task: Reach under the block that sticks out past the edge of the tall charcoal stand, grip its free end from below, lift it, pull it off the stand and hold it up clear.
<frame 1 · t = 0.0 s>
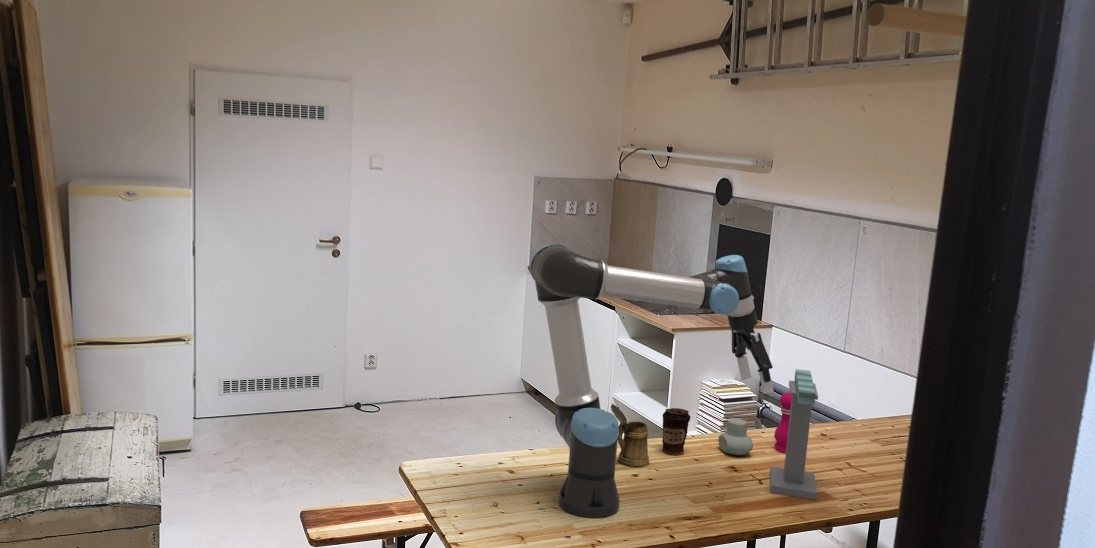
hand: (757, 385, 229), 28 cm above the table, tool tilted 20°, fingers open, 13 cm apart
pepper mill: (784, 450, 263), on the table
stand: (792, 485, 232), on the table
wooden mug: (626, 463, 242), on the table
air freshener: (734, 453, 257), on the table
block: (803, 391, 225), point 28 cm above the table, touching stand
coffee cup: (673, 452, 253), on the table
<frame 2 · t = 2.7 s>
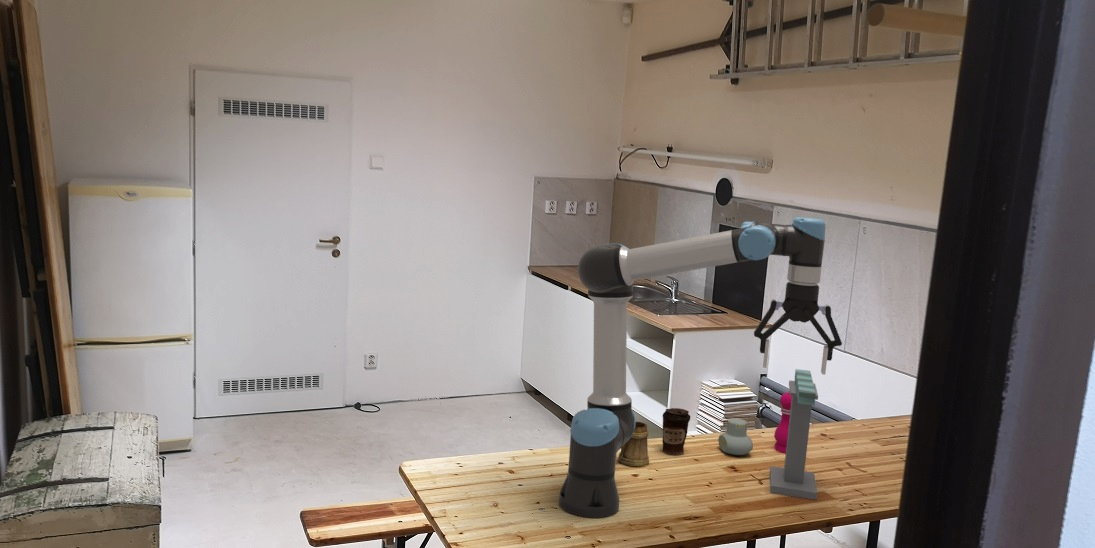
hand: (793, 370, 202), 39 cm above the table, tool pointing down, fingers open, 13 cm apart
nothing on the table moved.
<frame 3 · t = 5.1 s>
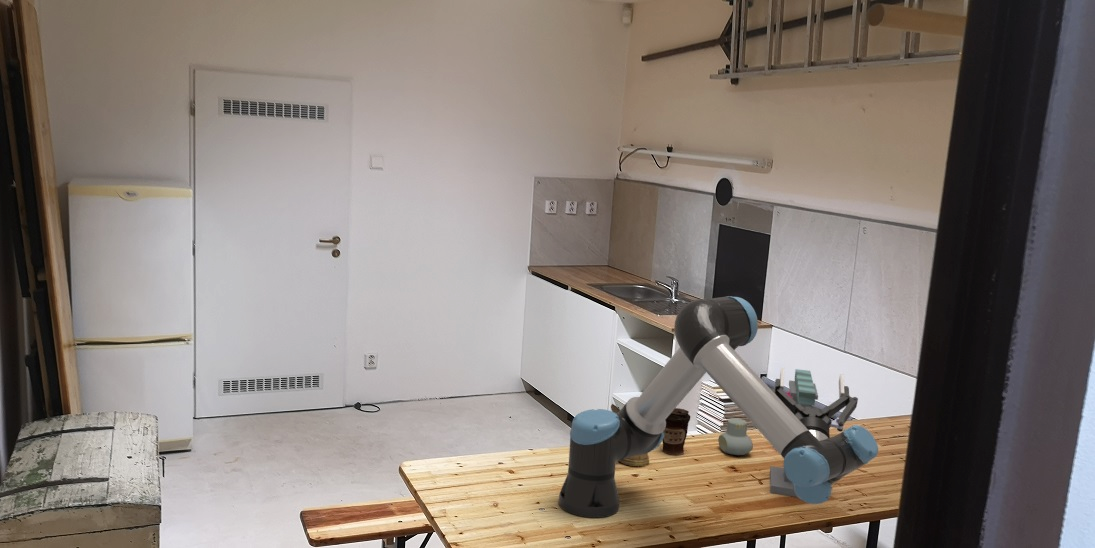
hand: (811, 374, 202), 38 cm above the table, tool pointing upward, fingers open, 13 cm apart
nothing on the table moved.
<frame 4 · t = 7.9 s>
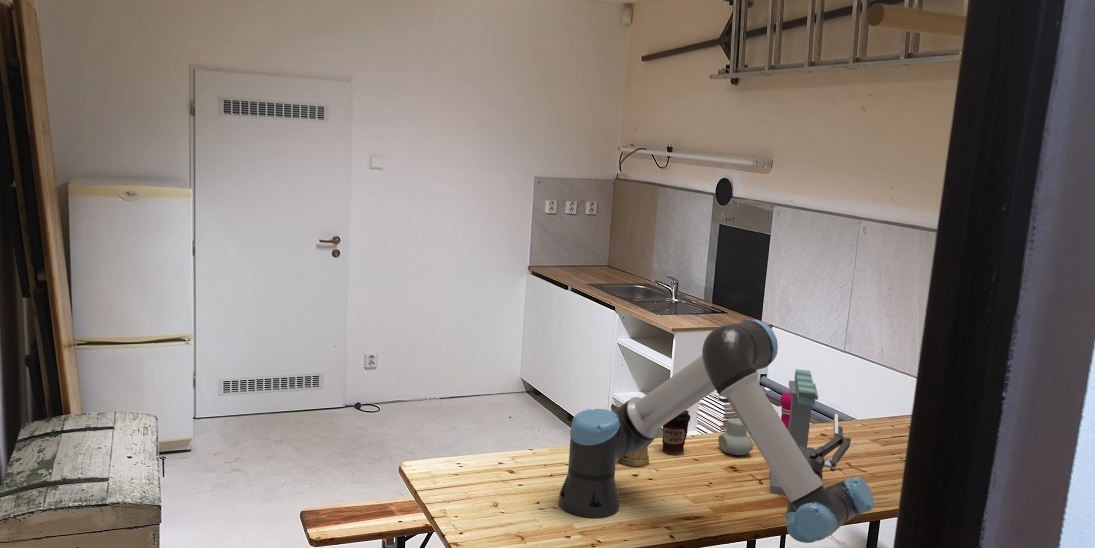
hand: (807, 413, 211), 26 cm above the table, tool pointing upward, fingers open, 13 cm apart
nothing on the table moved.
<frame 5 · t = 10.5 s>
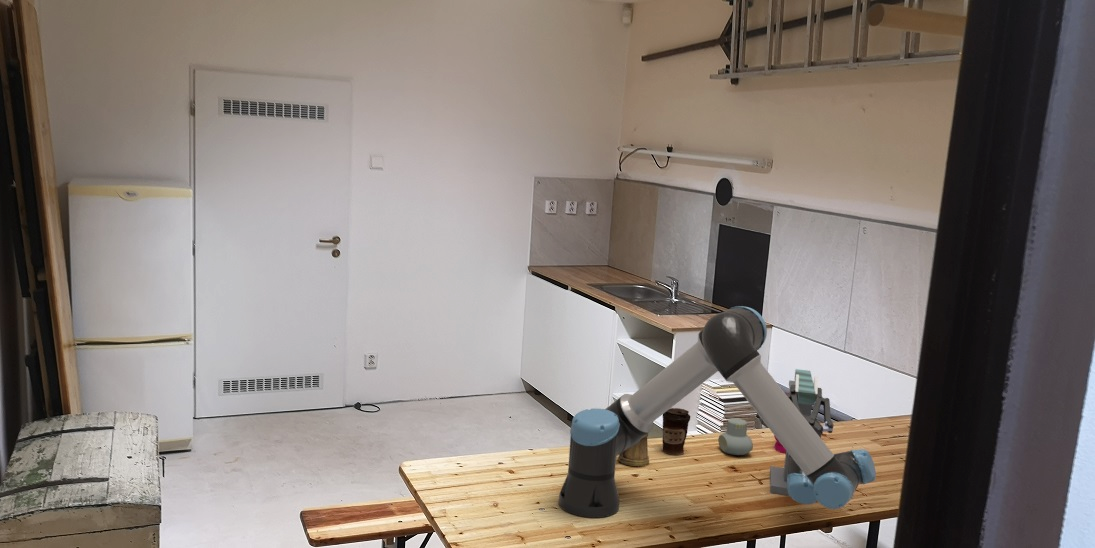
hand: (806, 379, 221), 32 cm above the table, tool pointing upward, fingers closed on block, 4 cm apart
block: (803, 391, 225), point 28 cm above the table, touching gripper, stand
everything else where it was.
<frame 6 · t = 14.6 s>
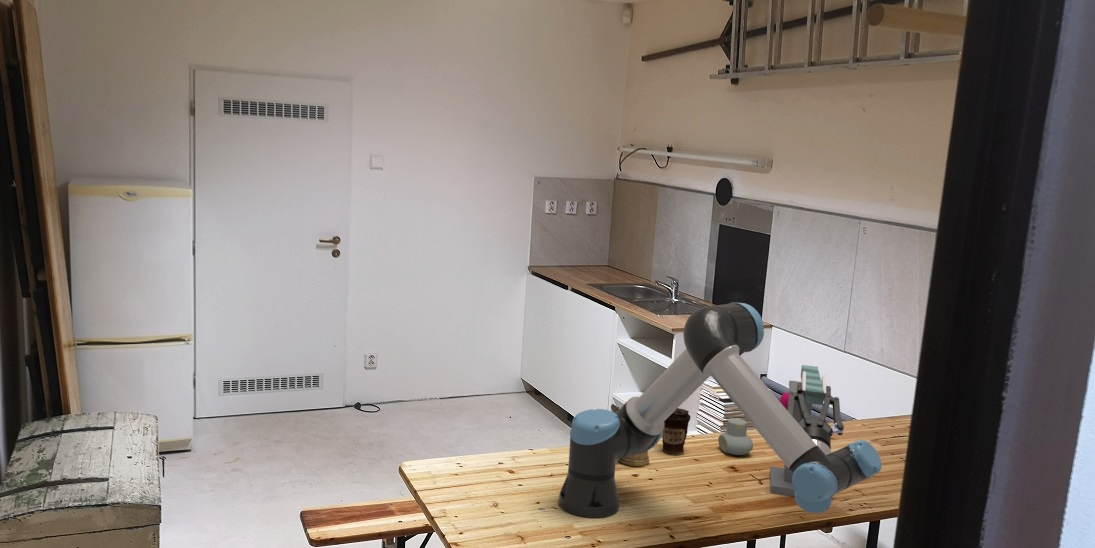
hand: (813, 376, 206), 37 cm above the table, tool pointing upward, fingers closed on block, 4 cm apart
block: (811, 389, 210), point 32 cm above the table, touching gripper
everything else where it was.
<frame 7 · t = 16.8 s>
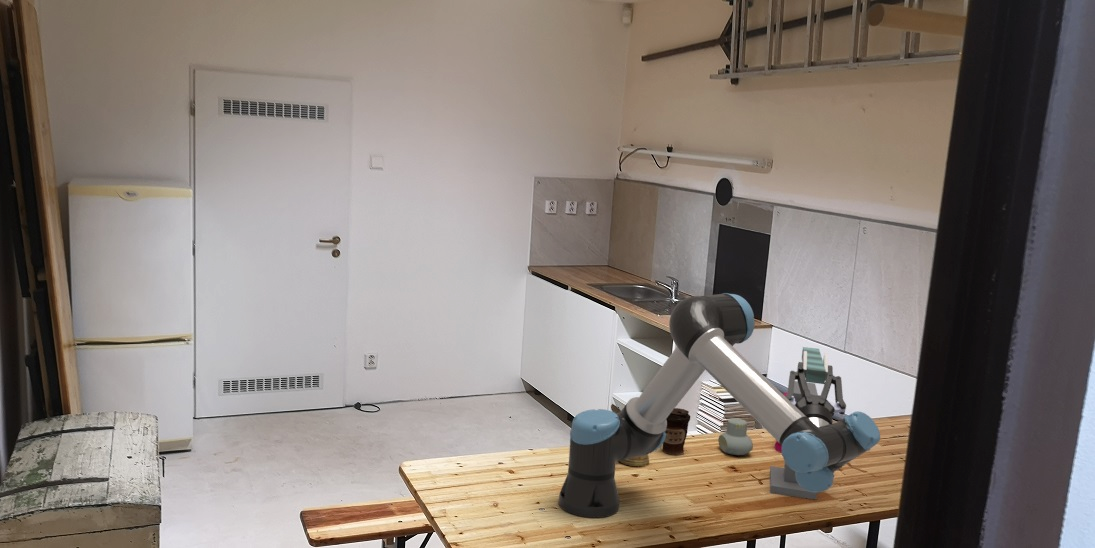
hand: (815, 356, 200), 43 cm above the table, tool pointing upward, fingers closed on block, 4 cm apart
block: (812, 370, 204), point 38 cm above the table, touching gripper
everything else where it was.
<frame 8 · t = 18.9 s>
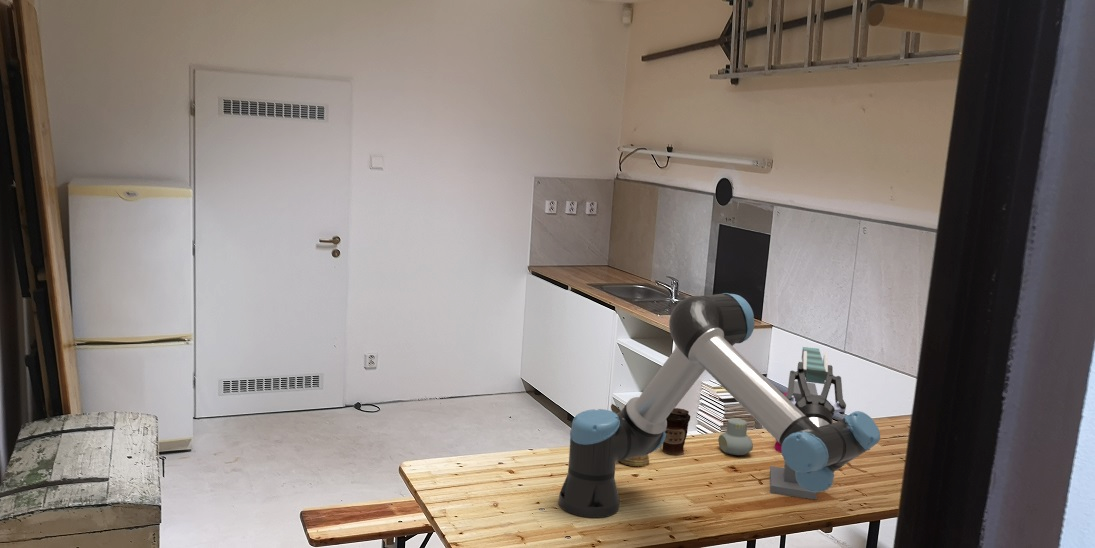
hand: (814, 356, 200), 43 cm above the table, tool pointing upward, fingers closed on block, 4 cm apart
block: (812, 370, 204), point 38 cm above the table, touching gripper
everything else where it was.
at the end: block moved 22.6 cm from its start; block touching gripper; the gripper is holding block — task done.
